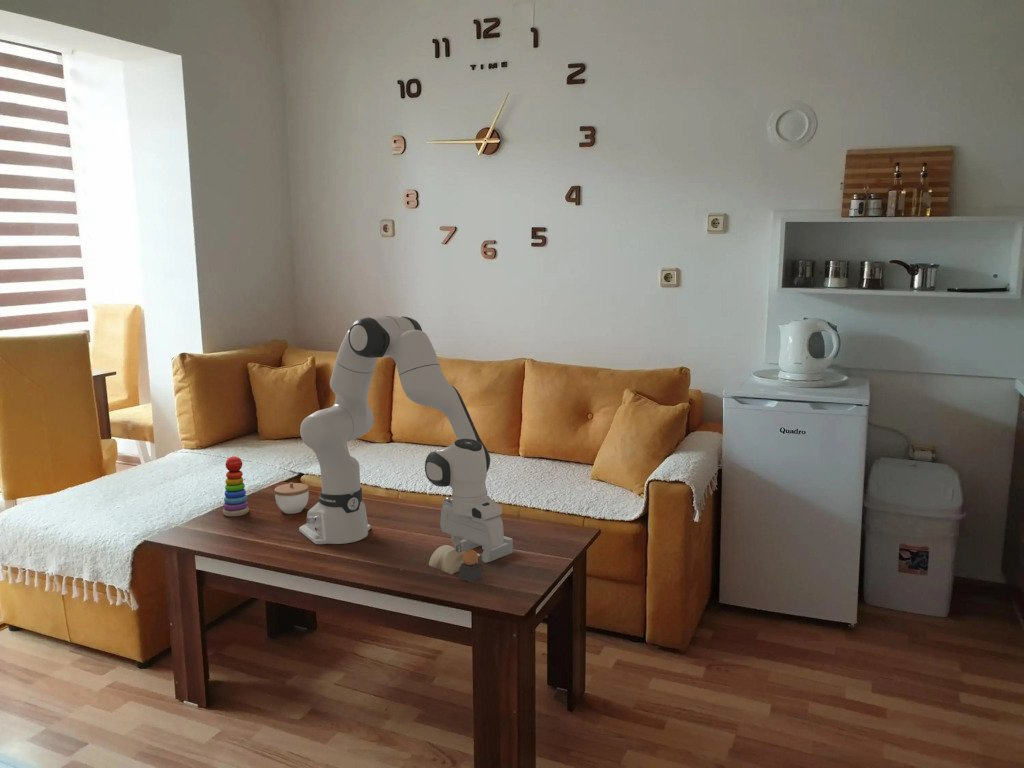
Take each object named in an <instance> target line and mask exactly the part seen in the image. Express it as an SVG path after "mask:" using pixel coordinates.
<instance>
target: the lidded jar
mask: <svg viewBox="0 0 1024 768" xmlns="http://www.w3.org/2000/svg"><path fill="white" fill-rule="evenodd" d="M309 489H310V487H309V485H308V484H306V483H301V482H289V483H284V484H280V485H277V486H276V487H275V488H274V491H273V492H274V498H275V502H276V505H277V507H278V508H279V509H280V510H281V511H282V512H283V513H284V514H287V515H288V514H289V515H291V514H298V513H301V512H302V511H303V510H304V508H306V507H307V504H308V502H309V496H310V494H309Z"/></svg>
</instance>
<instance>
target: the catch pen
mask: <svg viewBox="0 0 1024 768" xmlns="http://www.w3.org/2000/svg"><path fill="white" fill-rule="evenodd" d="M513 541H514V539H513V538H511V537H508V536H505V535H504V540H503V543H502V545H501V546H499V547H497V548H494V549H491V551H490V553H489V560H488V561H486V562H484V563H485V564H487V563H490V562H492V561H495V560H498V559H499V558H504V557H505V556H507V555H511V554H513V553H514V544H513V543H514V542H513ZM460 542H461V544H462V545H463V551H466V550H469V549H471V550H474V549H475V548H478V547H480V546H481V547H482V545H479V544H476V543H473V542H470V541H468V540H465V539H460Z"/></svg>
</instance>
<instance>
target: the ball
mask: <svg viewBox="0 0 1024 768" xmlns="http://www.w3.org/2000/svg"><path fill="white" fill-rule="evenodd" d="M477 553H478V552H477V551H475V550H474V549H469V550H466V551H465V552H464V553H463V556H462V559H463V562H464V563H465V564H466V565H474V564H475V563H476V562H477V560H479V556H478V554H479V553H478V554H477Z"/></svg>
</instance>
